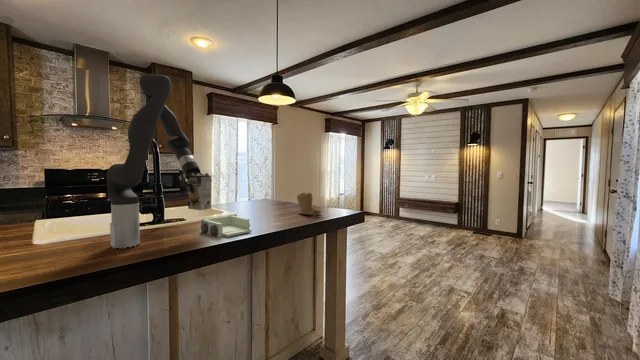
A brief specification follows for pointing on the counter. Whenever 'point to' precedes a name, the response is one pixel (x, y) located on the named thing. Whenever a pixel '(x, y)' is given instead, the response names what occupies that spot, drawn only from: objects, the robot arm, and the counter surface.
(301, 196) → the brown boot
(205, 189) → the coffee box
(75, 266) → the counter surface
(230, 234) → the cart bed
